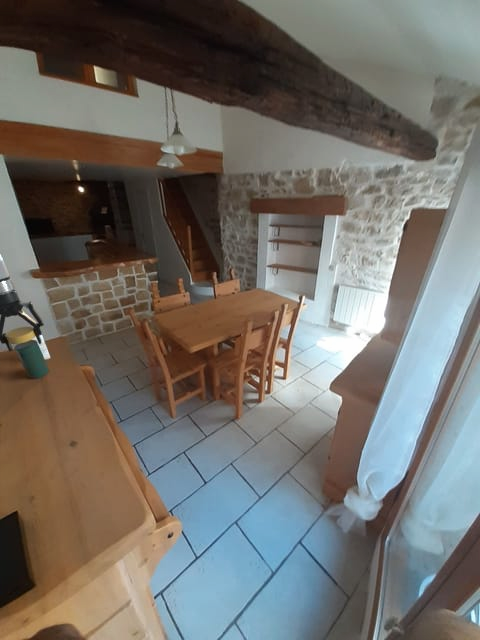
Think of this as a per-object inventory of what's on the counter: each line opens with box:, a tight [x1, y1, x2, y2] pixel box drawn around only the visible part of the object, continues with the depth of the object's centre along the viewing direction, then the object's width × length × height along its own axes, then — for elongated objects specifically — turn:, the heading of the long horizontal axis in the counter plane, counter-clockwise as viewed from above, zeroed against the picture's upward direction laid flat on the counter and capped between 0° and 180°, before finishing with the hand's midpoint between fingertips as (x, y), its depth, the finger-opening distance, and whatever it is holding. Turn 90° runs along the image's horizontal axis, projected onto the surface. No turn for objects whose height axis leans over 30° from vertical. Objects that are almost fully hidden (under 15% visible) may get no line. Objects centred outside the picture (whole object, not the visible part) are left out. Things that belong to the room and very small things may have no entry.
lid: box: [5, 326, 35, 345], centre depth 96 cm, size 9×8×3 cm
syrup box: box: [32, 334, 51, 361], centre depth 111 cm, size 6×6×14 cm
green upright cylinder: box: [14, 340, 50, 380], centre depth 102 cm, size 7×7×14 cm
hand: (25, 345), depth 99 cm, fingers closed on lid, 8 cm apart
